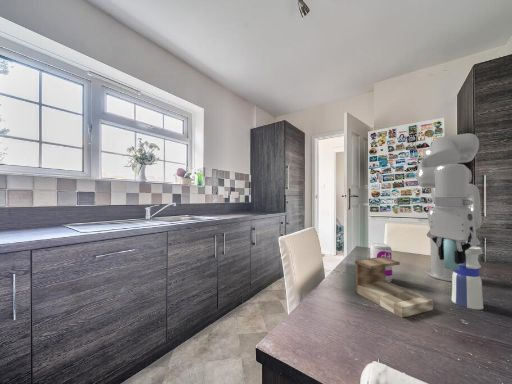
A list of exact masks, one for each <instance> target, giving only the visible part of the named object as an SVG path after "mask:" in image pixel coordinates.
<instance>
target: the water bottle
mask: <svg viewBox="0 0 512 384" xmlns="http://www.w3.org/2000/svg"><path fill="white" fill-rule="evenodd" d="M482 254H484V251H483V249H482V247H480V246H477V245H476V246H472V247H471V248H469V249H467V250H466V251H465V262H464V263H462V264H459V270H452V269H451V270H452V271H453V275H452V281H451V282H452V285H451V286H452V287H451V301H452V303H454V304H456V305H458V306H460V307H462V308H463V307H464V308H466V309H471V310H483V309H484V298H483V282H482V277H481V276H480V269H481V267H482V265H481V264H480V262H479V255H482Z"/></svg>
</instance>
